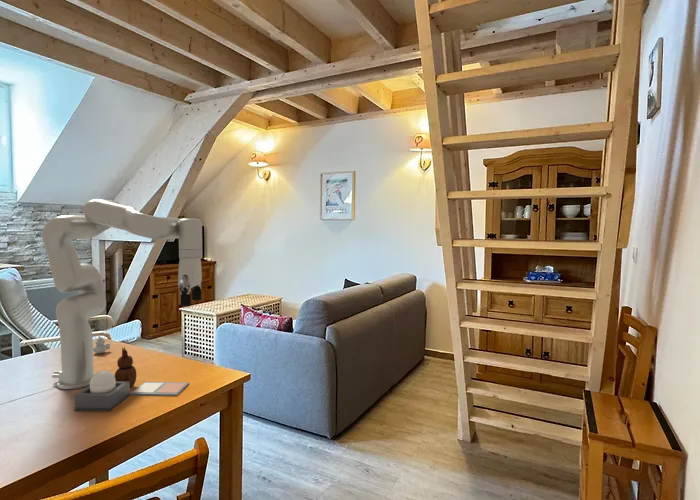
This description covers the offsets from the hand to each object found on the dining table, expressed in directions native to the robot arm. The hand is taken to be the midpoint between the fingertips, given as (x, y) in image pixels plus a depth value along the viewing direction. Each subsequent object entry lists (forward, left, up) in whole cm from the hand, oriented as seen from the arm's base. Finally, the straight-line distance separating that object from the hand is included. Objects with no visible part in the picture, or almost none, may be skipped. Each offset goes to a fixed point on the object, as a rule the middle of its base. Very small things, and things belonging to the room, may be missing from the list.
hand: (191, 302), depth 142 cm
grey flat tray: (-10, -3, -30) cm, 32 cm away
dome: (-23, -14, -26) cm, 38 cm away
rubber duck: (-54, +35, -30) cm, 71 cm away
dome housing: (-23, -14, -30) cm, 40 cm away
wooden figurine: (-23, -2, -30) cm, 38 cm away
